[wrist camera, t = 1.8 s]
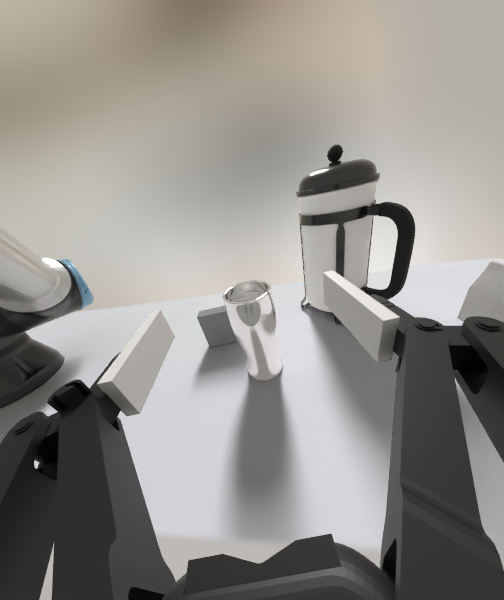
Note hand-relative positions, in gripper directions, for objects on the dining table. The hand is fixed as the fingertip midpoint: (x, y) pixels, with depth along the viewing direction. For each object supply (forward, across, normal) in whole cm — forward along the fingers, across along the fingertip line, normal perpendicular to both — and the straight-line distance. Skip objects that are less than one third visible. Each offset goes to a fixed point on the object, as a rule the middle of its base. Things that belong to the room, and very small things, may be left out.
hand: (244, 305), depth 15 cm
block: (+19, -7, -18) cm, 27 cm away
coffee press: (+22, +19, -18) cm, 35 cm away
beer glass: (+10, 0, -18) cm, 21 cm away
